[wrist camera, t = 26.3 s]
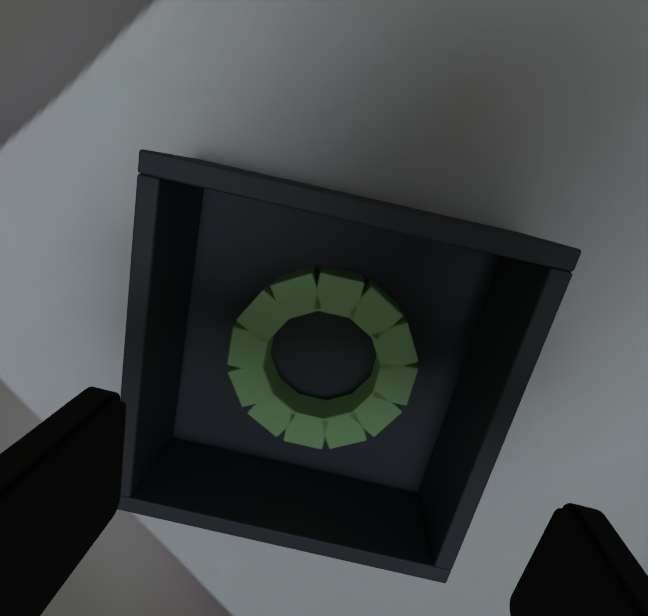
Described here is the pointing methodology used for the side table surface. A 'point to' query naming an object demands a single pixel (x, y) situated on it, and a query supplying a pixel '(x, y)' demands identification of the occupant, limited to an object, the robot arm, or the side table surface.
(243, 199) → the bin
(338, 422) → the ring
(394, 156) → the side table surface
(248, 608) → the side table surface
